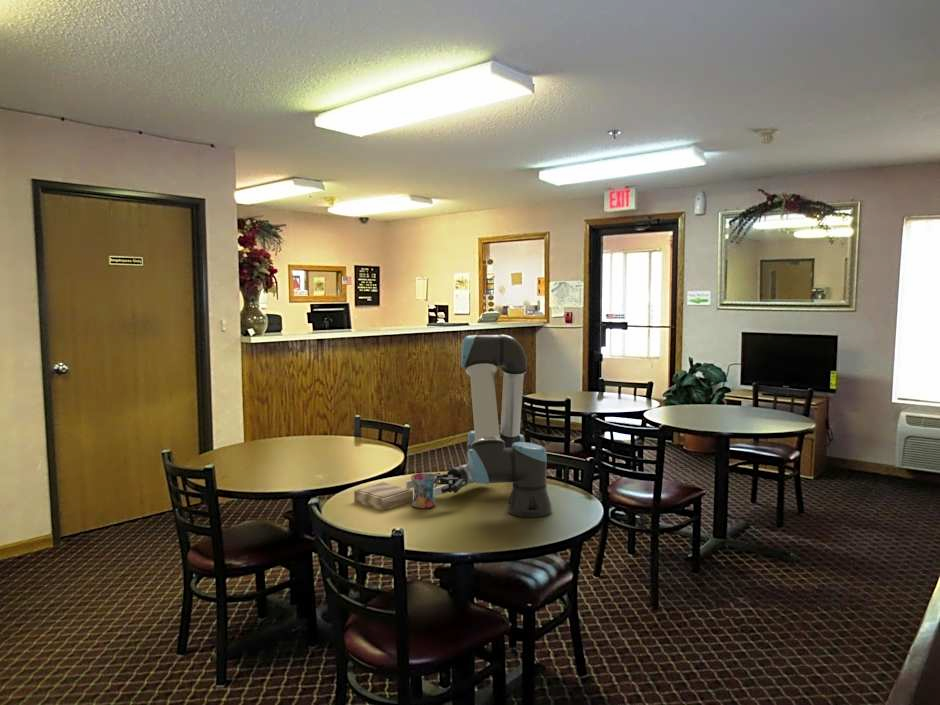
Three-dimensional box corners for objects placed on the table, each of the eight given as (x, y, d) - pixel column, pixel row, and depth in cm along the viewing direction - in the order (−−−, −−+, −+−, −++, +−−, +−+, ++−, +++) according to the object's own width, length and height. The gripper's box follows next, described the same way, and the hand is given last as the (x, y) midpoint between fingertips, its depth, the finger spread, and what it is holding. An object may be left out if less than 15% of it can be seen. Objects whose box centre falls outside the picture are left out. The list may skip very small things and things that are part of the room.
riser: (412, 500, 234) (412, 489, 234) (383, 510, 224) (383, 498, 223) (383, 492, 245) (383, 481, 244) (354, 501, 234) (354, 489, 234)
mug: (424, 511, 222) (423, 481, 221) (405, 506, 228) (404, 477, 227) (447, 503, 231) (447, 474, 230) (428, 498, 237) (428, 470, 236)
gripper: (486, 492, 235) (445, 506, 219) (437, 480, 251) (396, 492, 235) (485, 472, 234) (445, 484, 218) (436, 461, 251) (396, 472, 235)
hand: (420, 488), depth 227 cm, fingers open, 13 cm apart
